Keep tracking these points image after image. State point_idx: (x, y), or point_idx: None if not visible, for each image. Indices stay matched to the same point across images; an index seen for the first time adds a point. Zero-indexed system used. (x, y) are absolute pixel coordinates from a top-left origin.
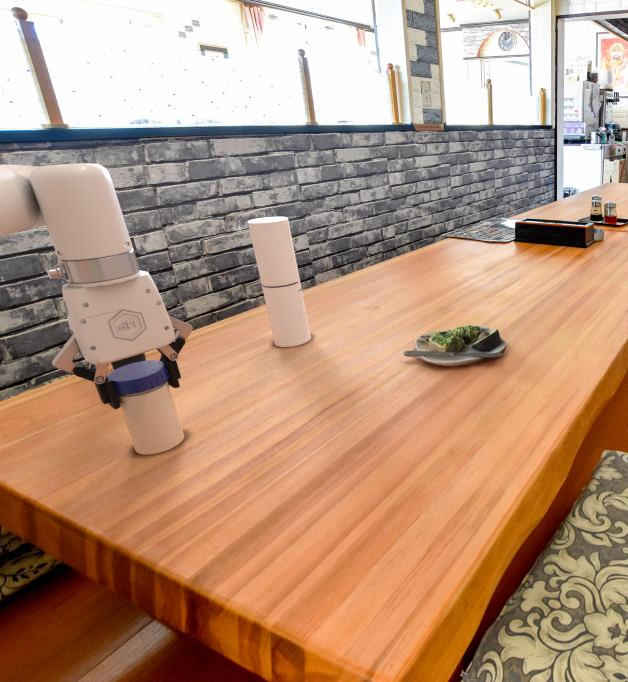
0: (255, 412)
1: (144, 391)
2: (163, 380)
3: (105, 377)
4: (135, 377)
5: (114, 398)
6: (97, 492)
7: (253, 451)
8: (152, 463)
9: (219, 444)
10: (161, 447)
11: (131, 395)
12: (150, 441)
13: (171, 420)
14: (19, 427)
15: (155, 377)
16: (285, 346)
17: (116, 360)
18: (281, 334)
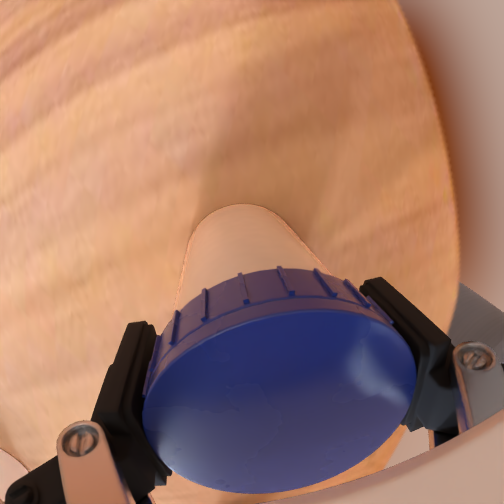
0: (27, 251)
1: None
2: (176, 318)
3: (458, 366)
4: (328, 338)
5: (393, 298)
6: (389, 130)
7: (76, 49)
8: (279, 162)
9: (123, 137)
10: (249, 205)
11: None
12: (272, 216)
13: (204, 239)
14: (389, 445)
15: (213, 314)
16: (9, 455)
17: (483, 423)
18: (5, 473)
